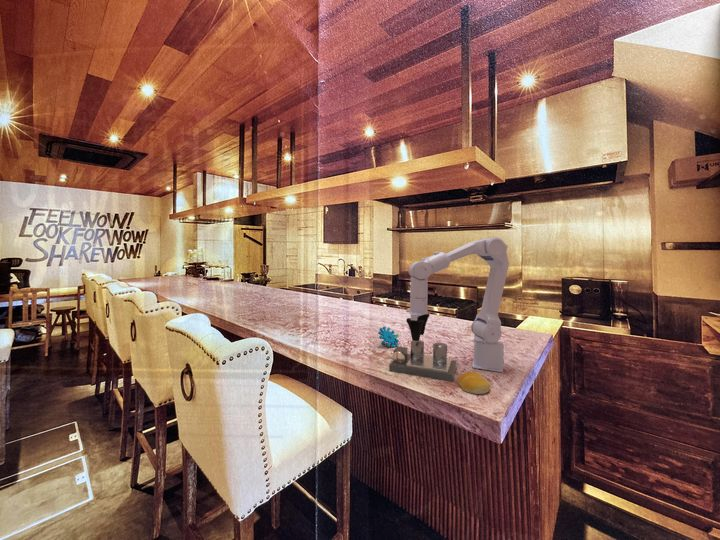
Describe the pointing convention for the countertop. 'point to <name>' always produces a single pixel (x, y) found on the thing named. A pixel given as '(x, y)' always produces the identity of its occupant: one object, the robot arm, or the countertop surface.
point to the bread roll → (473, 383)
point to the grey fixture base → (421, 366)
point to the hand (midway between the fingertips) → (418, 337)
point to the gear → (388, 337)
